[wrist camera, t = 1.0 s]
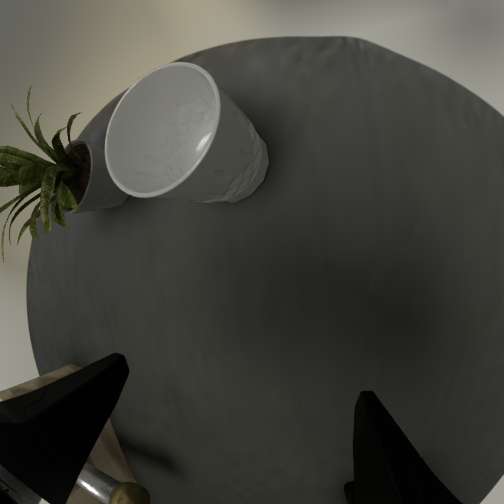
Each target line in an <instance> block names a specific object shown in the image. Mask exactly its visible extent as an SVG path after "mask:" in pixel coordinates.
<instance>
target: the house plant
mask: <svg viewBox="0 0 504 504" xmlns="http://www.w3.org/2000/svg"><path fill="white" fill-rule="evenodd" d="M30 89H31V88H30ZM30 89H29V92H28V96H27V110H28V113H29V96H30ZM12 107H13V106H12ZM13 110H14V112H15V115H16V117H17V119H18V120H19V121H20V123H21V124H22V126H23V127H24V129H25V130H26V132H27V133H28V135H29V136H30V138H31V139H32V140H33V141H34V142H35V143H36V145H37V146H39V147H40V148H41V149H42V150H43V151H44V152H45V153H46V154H47V155H48V156H49V157H50V158H51V159H52V160H53V161H54V162H56V164H54V163H52V162H49V161H46V160H44V159H42V158H40V157H38V156H36V155H34V154H31V153H28V152H25V151H22V150H19V149H17V148H14V147H10V146H0V165H1V166H3V167H0V186H1V187H8V186H13V185H19V194H20V195H19V196H17V197H16V198H15V199H13V200H11V201H10V202H8V203H7V204H5V205H3V206H2V207H1V208H0V213H1V212H2V211H3V210H5V209H6V208H8V207H9V206H10V205H11V204H12V203H14V202H15V201H17V200H18V199H20V200H19V201H18V202H17V203H16V204H15V206H14V207H13V209H12V210H11V212H10V214H11V213H12V211H13V210H14V209H15V207H16V206H17V205H18V204H19V203H20V202H21V201H22V200H23V199H24V198H25V197H27V196H28V195H29V194H31V193H32V192H34V191H35V190H37V189H39V188H41V193H39V194H38V195H36V196H35V197H33V198H32V199H30V200H29V201H28V202H26V203H25V204H24V205H23V206H21V207H20V208H19V209H18V211H17V212H16V213H15V215H14V217H13V218H12V221H11V224H12V222H13V221H14V219H15V218H16V216H17V215H18V214H19V213H20V212H21V211H22V210H23V209H24V208H25V207H26V206H28V205H29V204H30V203H31V202H33V201H35V200H36V199H38V198H39V197H40V202H39V203H38V204H37V205H36V206H35V208H34V210H33V212H32V215H31V218H30V219H29V220H28V221H27V222H26V223H25V224H24V225H23V227H22V229H21V231H20V234H19V237H18V242H19V239H20V237H21V235H22V233H23V232H24V231H25V229H26V228H27V227H28V226H29V225H30V232H31V235H32V237H33V239H34V240H35V241H36V242H37V243H38V240H37V234H36V218H37V217H39V216H40V214H41V219H42V223H43V228H44V232H45V234H46V232H47V227H48V226H49V232H50V235H51V215H52V217H53V220H54V221H55V222H56V223H58V224H60V225H62V226H65V227H67V228H69V227H68V226H67V225H66V221H65V217H64V214H74V213H80V212H86V211H93V210H99V209H106V208H113V207H118V206H120V205H121V204H122V203H123V202H125V200H126V199H127V197H128V196H129V194H127V193H125V192H124V191H122V190H121V189H120V188H119V187H118V186H117V185H116V184H115V183H114V181H113V180H112V178H111V176H110V174H109V171H108V169H107V165H106V160H105V150H103V149H101V148H99V147H98V146H96V145H94V144H92V143H90V142H88V141H86V140H84V139H76V140H74V141H72V142H71V141H70V129H71V125H72V122H73V120H74V119H75V117H76V115H78V114H80V113H77V114H75V115H72V116H71V117H70V119H69V122H68V125H67V134H68V141H69V144H68V145H67V146H66V148H65V149H64V147H63V145H62V143H61V140H60V138H59V135H60V132H61V131H62V130H64V129H65V128H66V127H65V128H63V129H60V130H59V131H58V132H57V133H56V134H55V136H54V137H53V139H52V146H53V148H54V150H53V149H52V148H51V147H50V146H49V145H48V144H47V143H46V141H45V140H44V138H43V136H42V133H41V130H40V126H39V121H38V119H39V117H38V119H37V121H36V123H35V129H34V130H35V136H36V138H37V140H38V142H39V143H38V142H37V141H36V140H35V139H34V137H33V136H32V135H31V133H30V132H29V130H28V129H27V127H26V125H25V124H24V122H23V121H22V120H21V118H20V117H19V116H18V114H17V113H16V111H15V109H14V108H13ZM40 115H41V114H40ZM29 117H30V113H29ZM30 120H31V118H30ZM31 121H32V120H31ZM32 124H33V123H32ZM8 161H9V162H8ZM4 167H5V168H4ZM52 194H53V197H52ZM53 201H54V202H53ZM52 202H53V204H52V213H51V215H50V217H49V221H48V207H49V204H50V203H52ZM39 207H40V209H39ZM38 209H39V210H38ZM10 214H9V215H10ZM8 218H9V216H8ZM8 218H7V220H8ZM11 224H10V227H11ZM5 225H6V224H5ZM4 229H5V226H4V228H3V233H2V255H3V240H4V239H3V238H4ZM69 229H70V228H69ZM9 230H10V229H9ZM46 236H47V235H46ZM9 240H10V231H9ZM38 244H39V243H38ZM3 256H4V255H3ZM3 259H4V257H3Z"/></svg>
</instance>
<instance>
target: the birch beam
mask: <svg viewBox="0 0 504 504" xmlns="http://www.w3.org/2000/svg"><path fill="white" fill-rule="evenodd" d="M79 369H81V367H79V366H76V365H74V364H70V365H68V366H65V367H63V368H60V369H58V370H55V371H53V372H50V373H48V374H45V375H43V376H40V377H38V378H35V379H32V380H30V381H27V382H25V383H22V384H19V385H17V386H14V387H11V388H9V389H6V390H3V391H1V392H0V401H4V400H7V399H10V398H13V397H16V396H19V395H22V394H25V393H28V392H31V391H33V390H36V389H38V388H40V387H42V386H45V385H48V384H49V383H51V382H53V381H56V380H58V379H60V378H62V377H64V376H67V375H69V374H71V373H73V372H75V371H77V370H79ZM86 462H88V463H89V464H91V465H92V466H94V467H96V468H97V469H99V470H100V471H102V472H104V473H106V474H107V475H109V476H111V477H112V478H114V479H116V480H118V481H120V482H121V483H123V482H128V481H129V482H133V483H136V484H137V482H136V480H135V478H134V476H133V474H132V472H131V470H130V468H129V465H128V463H127V461H126V459H125V456H124V454H123V452H122V449H121V447H120V444H119V442H118V439H117V437H116V434H115V432H114V429H113V426H112V424H111V421H110V418H109V419H108V421H107V422H106V424H105V426H104V428H103V430H102V432H101V434H100V436H99V438H98V440H97V441H96V443H95V445H94V447H93V449H92V451H91V453H90V455H89V457H88V459H87V461H86ZM66 504H105V503H103V502H102V501H100V500H99V499H97V498H96V497H94V496H93V495H91V494H90V493H88V492H87V491H85V490H84V489H83V488H81V487H80V486H79V485H77V484H76V483H75V486H74V488H73V490H72V492H71V494H70V496H69V498H68V500H67V502H66Z"/></svg>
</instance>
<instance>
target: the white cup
mask: <svg viewBox="0 0 504 504" xmlns="http://www.w3.org/2000/svg"><path fill="white" fill-rule="evenodd" d="M105 160H106V165H107V169H108V171H109V174H110V176H111V178H112V180H113V181H114V183H115V184H116V185H117V186H118V187H119V188H120V189H121V190H122V191H124V192H125V193H127V194H129V195H132V196H135V197H141V198H154V199H166V200H177V201H187V202H206V203H212V202H225V203H235V202H237V201H239V200H242V199H244V198H246V197H248V196H250V195H252V194H253V192H254V191H255V190H256V189H257V188H258V187H259V185H260V184H261V183H262V182H263V181H264V178H265V175H266V171H267V168H268V165H269V158H268V152H267V146H266V143H265V142H264V141H263V139H262V138H261V137H260V135H259V134H258V133H257V132H256V130H255V128H254V126H253V124H252V123H251V122H250V121H249V119H248V118H247V116H246V115H245V114H244V113H243V111H242V110H241V109H240V108H239V107H238V106H237V105H236V103H235V102H234V101H233V100H232V99H231V98H230V96H229V95H228V94H227V93H226V92H225V91H224V90H223V89H222V88H221V86H220V85H219V84H218V83H217V82H216V81H215V80H214V79H213V77H212V76H211V75H210V74H209V73H208V72H207V71H206V70H204V69H203V68H201V67H199V66H197V65H195V64H192V63H186V62H175V63H169V64H165V65H162V66H160V67H157V68H155V69H154V70H151V71H150V72H148V73H146V74H145V75H143V76H142V77H141V78H140V79H138V80H137V81H136V82H135V83H134V84H133V85H132V86H131V87H130V88H129V89H128V90H127V92H126V93H125V94H124V95H123V97H122V98H121V100H120V101H119V103H118V104H117V106H116V108H115V110H114V112H113V114H112V117H111V119H110V122H109V125H108V129H107V133H106V139H105Z"/></svg>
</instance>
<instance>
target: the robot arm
mask: <svg viewBox="0 0 504 504" xmlns="http://www.w3.org/2000/svg"><path fill="white" fill-rule="evenodd" d="M128 375H129V367H128V364H127V362H126V359H125V356H124V355H122V354H119V353H113V354H111V355H109V356H107V357H105V358H102V359H100V360H98V361H96V362H94V363H92V364H90V365H88V366H86V367H84V368H81V369H79V370H77V371H75V372H73V373H71V374H69V375H67V376H64V377H62V378H60V379H58V380H56V381H53V382H51V383H49V384H48V385H45V386H42V387H40V388H38V389H36V390H33V391H31V392H28V393H25V394H22V395H19V396H16V397H13V398H10V399H7V400H4V401H0V504H39V502H40V501H41V499H42V498H43V499H44V500H46V501H47V502H48V503H50V504H66V502H67V500H68V498H69V496H70V494H71V492H72V490H73V488H74V486H75V483H76V481H77V479H78V476H79V475H80V473H81V471H82V469H83V467H84V465H85V463H86V461H87V459H88V457H89V455H90V453H91V451H92V449H93V447H94V445H95V443H96V441H97V440H98V438H99V436H100V434H101V432H102V430H103V428H104V426H105V424H106V422H107V421H108V419H109V417H110V415H111V413H112V411H113V409H114V408H115V406H116V404H117V402H118V399H119V397H120V394H121V392H122V390H123V387H124V385H125V382H126V380H127V377H128ZM353 461H354V482H353V483H347V484H345V485H344V491H345V495H346V498H347V501H348V504H463V503H461V502H460V501H459V500H458V499H457V498H456V497H455V496H454V495H453V494H452V493H451V492H450V491H449V490H448V489H447V488H446V487H445V485H444V484H443V483H442V482H441V481H440V480H439V479H438V478H437V477H436V476H435V474H434V473H433V472H432V471H431V470H430V468H429V467H428V466H427V464H426V463H425V462H424V460H423V459H422V457H420V455H419V453H418V452H417V451H416V449H415V448H414V447H413V445H412V444H411V442H410V441H409V440H408V438H407V437H406V436H405V434H404V433H403V431H402V430H401V429H400V427H399V426H398V425H397V423H396V422H395V420H394V419H393V418H392V416H391V415H390V414H389V412H388V411H387V410H386V408H385V407H384V406H383V404H382V403H381V401H380V400H379V399H378V397H377V396H376V395H375V393H374V392H373V391H361V393H360V395H359V398H358V400H357V403H356V405H355V412H354V433H353Z"/></svg>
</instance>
